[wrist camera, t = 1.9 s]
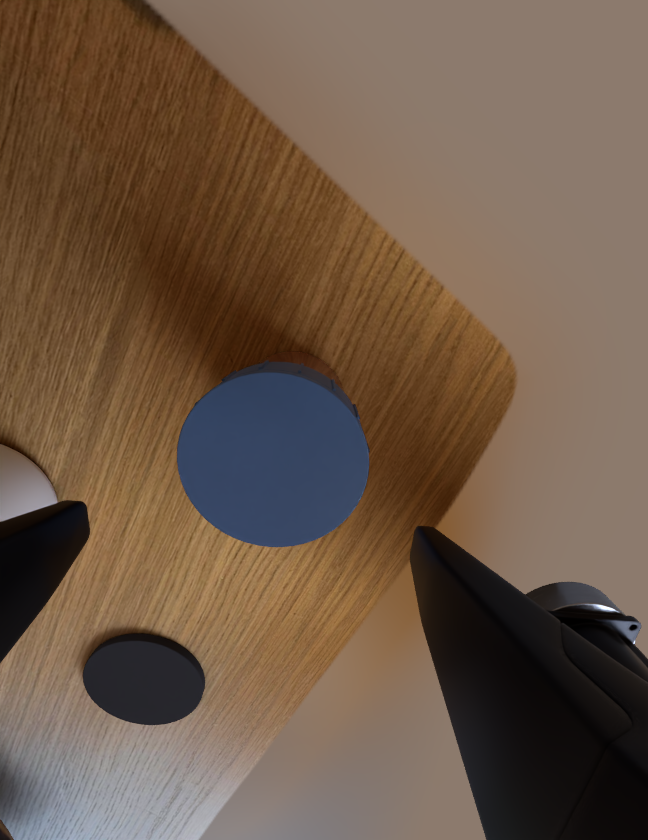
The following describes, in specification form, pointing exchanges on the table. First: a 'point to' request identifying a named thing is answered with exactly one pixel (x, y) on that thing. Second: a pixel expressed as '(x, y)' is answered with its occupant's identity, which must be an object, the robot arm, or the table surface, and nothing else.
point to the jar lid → (274, 455)
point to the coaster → (144, 679)
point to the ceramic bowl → (4, 832)
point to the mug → (22, 485)
